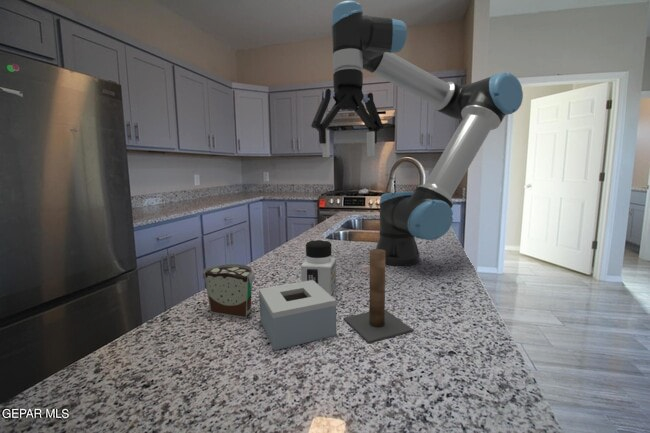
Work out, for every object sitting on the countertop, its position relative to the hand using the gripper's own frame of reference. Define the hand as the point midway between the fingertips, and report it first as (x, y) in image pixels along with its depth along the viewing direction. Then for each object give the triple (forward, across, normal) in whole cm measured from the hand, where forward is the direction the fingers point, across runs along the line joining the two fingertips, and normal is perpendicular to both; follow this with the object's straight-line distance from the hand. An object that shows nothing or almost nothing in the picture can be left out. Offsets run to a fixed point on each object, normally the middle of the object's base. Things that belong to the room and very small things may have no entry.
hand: (349, 156), depth 83 cm
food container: (+34, +32, +4) cm, 47 cm away
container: (+34, +11, +2) cm, 36 cm away
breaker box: (+34, +23, +18) cm, 45 cm away
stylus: (+34, +8, +25) cm, 43 cm away
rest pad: (+34, +8, +25) cm, 43 cm away
